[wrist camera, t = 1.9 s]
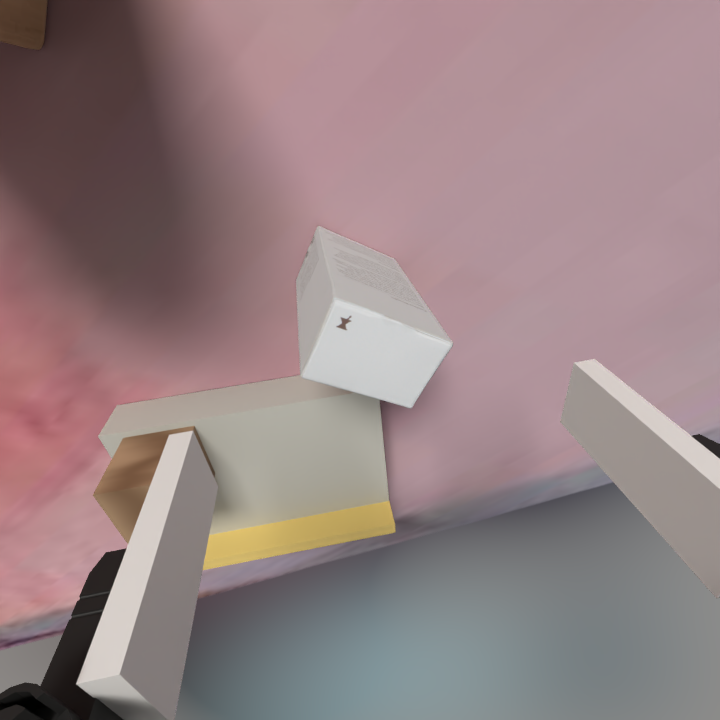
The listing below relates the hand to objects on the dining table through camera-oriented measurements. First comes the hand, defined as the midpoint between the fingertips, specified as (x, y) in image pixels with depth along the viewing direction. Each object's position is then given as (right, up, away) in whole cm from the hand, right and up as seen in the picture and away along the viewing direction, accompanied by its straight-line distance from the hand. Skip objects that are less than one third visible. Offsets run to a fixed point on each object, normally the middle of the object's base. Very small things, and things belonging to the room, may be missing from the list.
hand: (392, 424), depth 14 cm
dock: (-9, -6, +21) cm, 24 cm away
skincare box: (-2, +9, +14) cm, 17 cm away
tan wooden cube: (-15, -5, +16) cm, 22 cm away
